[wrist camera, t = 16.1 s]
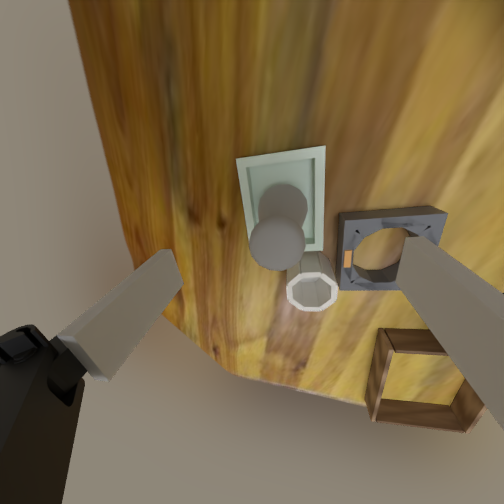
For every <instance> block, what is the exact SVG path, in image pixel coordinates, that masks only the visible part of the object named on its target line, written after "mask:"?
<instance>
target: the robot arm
mask: <svg viewBox="0 0 504 504" xmlns="http://www.w3.org/2000/svg"><path fill="white" fill-rule="evenodd" d="M395 283H396V284H397V285H398V287H399V288H400V289H401V291H402V292H403V293H404V295H405V296H406V298H407V299H408V300H409V302H410V303H411V304H412V306H413V307H414V309H415V310H416V311H417V313H418V314H419V315H420V317H421V318H422V320H423V321H424V322H425V324H426V325H427V326H428V328H429V329H430V330H431V332H432V333H433V335H434V336H435V337H436V339H437V340H438V341H439V343H440V344H441V346H442V347H443V348H444V350H445V351H446V352H447V354H448V355H449V356H450V358H451V359H452V361H453V362H454V363H455V365H456V366H457V367H458V369H459V370H460V372H461V373H462V374H463V376H464V377H465V378H466V380H467V381H468V383H469V384H470V385H471V387H472V388H473V389H474V391H475V392H476V393H477V395H478V396H479V398H480V399H481V400H482V402H483V403H484V404H485V406H486V407H487V409H488V410H489V411H490V413H491V414H492V415H493V417H494V418H495V420H496V421H497V422H498V424H499V425H500V426H501V427H502V429H503V430H504V293H501V292H500V291H498V290H497V289H496V288H494V287H493V286H492V285H490V284H489V283H487V282H486V281H485V280H483V279H482V278H481V277H479V276H478V275H476V274H475V273H474V272H472V271H471V270H470V269H468V268H467V267H465V266H464V265H463V264H461V263H460V262H458V261H457V260H456V259H454V258H453V257H452V256H450V255H449V254H447V253H446V252H445V251H443V250H442V249H441V248H439V247H438V246H436V245H435V244H434V243H432V242H431V241H429V240H428V239H427V238H425V237H424V236H421V237H406V239H405V243H404V247H403V251H402V256H401V260H400V264H399V268H398V273H397V277H396V281H395ZM183 284H184V283H183V280H182V277H181V275H180V272H179V269H178V266H177V264H176V261H175V258H174V256H173V253H172V250H171V249H161V250H159V251H158V252H157V253H156V254H154V255H153V256H152V257H151V258H150V259H148V260H147V261H146V262H145V263H144V264H142V265H141V266H140V267H139V268H138V269H136V270H135V271H134V272H133V273H131V274H130V275H129V276H128V277H127V278H125V279H124V280H123V281H122V282H121V283H119V284H118V285H117V286H116V287H115V288H113V289H112V290H111V291H110V292H108V293H107V294H106V295H105V296H104V297H102V298H101V299H100V300H99V301H98V302H97V303H95V304H94V305H93V306H92V307H90V308H89V309H88V310H87V311H85V312H84V313H83V314H82V315H81V316H79V317H78V318H77V319H76V320H74V321H73V322H72V323H71V324H70V325H69V326H67V327H66V328H65V329H64V330H62V331H61V332H60V333H59V334H58V335H56V336H55V337H54V338H53V339H51V340H50V341H48V340H47V339H46V337H45V336H44V335H43V334H42V333H41V332H40V331H39V330H38V329H37V327H36V326H34V325H25V326H21V327H18V328H16V329H14V330H12V331H10V332H8V333H6V334H4V335H2V336H0V504H62V499H63V494H64V489H65V484H66V479H67V474H68V468H69V463H70V458H71V453H72V448H73V443H74V438H75V432H76V428H77V423H78V417H79V412H80V407H81V402H82V397H83V392H84V387H85V381H84V380H83V378H82V377H83V376H84V374H85V373H86V372H87V371H88V373H89V374H90V375H91V376H92V377H93V378H94V379H95V380H100V381H110V380H111V379H112V377H113V376H114V375H115V374H116V372H117V371H118V370H119V368H120V367H121V366H122V364H123V363H124V362H125V360H126V359H127V358H128V357H129V355H130V354H131V353H132V351H133V350H134V348H135V347H136V346H137V345H138V343H139V342H140V340H141V339H142V338H143V337H144V335H145V334H146V333H147V331H148V330H149V329H150V327H151V326H152V325H153V324H154V322H155V321H156V320H157V318H158V317H159V315H160V314H161V313H162V312H163V310H164V309H165V308H166V307H167V305H168V304H169V303H170V301H171V300H172V299H173V297H174V296H175V295H176V293H177V292H178V291H179V289H180V288H181V287H182V285H183Z"/></svg>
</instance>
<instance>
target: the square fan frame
mask: <svg viewBox="0 0 504 504" xmlns="http://www.w3.org/2000/svg"><path fill="white" fill-rule="evenodd" d="M447 215H448V213H446V212H444V211H442V210H439V209H437V208H435V207H432V206H422V207H409V208H397V209H384V210H372V211H359V212H347V213H339V228H338V245H337V263H336V281H337V283H338V286H339V289H340V290H401V289H400V288H399V287H398V285H397V284H396V283H395V281H396V277H397V273H398V268H399V264H400V260H401V259H400V260H399V261H398V262H397V263H396V264H394V265H392V266H389V267H387V268H385V269H382V270H364V269H362V268H360V267H358V266H355V265H353V253H354V250H355V249H356V247H357V246H358V245H359V244H360V242H361V241H362V240H363V239H364V237H366V236H368V235H370V234H372V233H374V232H376V231H378V230H380V229H382V228H398V227H403V228H405V229H407V231H408V233H409V235H410V237H421V236H424V237H425V238H427V239H428V240H429V241H431V242H432V243H434V244H435V245H436V246H438V245H439V241H440V238H441V235H442V232H443V228H444V225H445V222H446V219H447Z"/></svg>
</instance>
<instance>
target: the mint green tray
mask: <svg viewBox="0 0 504 504" xmlns="http://www.w3.org/2000/svg"><path fill="white" fill-rule="evenodd" d="M236 163H237V169H238V175H239V182H240V188H241V195H242V201H243V207H244V214H245V220H246V226H247V233H248V239H249V241H250V236H251V232H252V230H253V229H254V227H255V226H256V225H257V224H258V223H259V220H258V206H259V202H260V198H261V197H262V195H263V194H264V193H265V192H266V190H267V189H269V188H271V187H273V186H276V185H278V184H290V185H292V186H294V187H296V188H298V189H300V190H301V192H302V193H303V195H304V196H305V197H306V199H307V205H308V212H307V215H306V218H305V221H304V224H303V226H302V229H303V231H304V236H305V243H306V247H305V250H304V251H323V229H324V187H325V146H317V147H310V148H304V149H297V150H290V151H284V152H277V153H270V154H263V155H257V156H250V157H243V158H238V159H236Z"/></svg>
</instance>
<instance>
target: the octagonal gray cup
mask: <svg viewBox="0 0 504 504" xmlns="http://www.w3.org/2000/svg"><path fill="white" fill-rule="evenodd" d="M286 288H287V300H288V301H289V302H290V303H292V304H293V305H294V306H296V307H297V308H298V309H300V310H302V309H303V311H320V309H321V310H322V311H323V310H324V309H326V308H327V307H329V306H330V305H331V304H333V303H334V302H336V300H337V290H338V285H337V282H336V279H335V276H334V273H333V270H332V267H331V264H330V261H329V259H328V258H327V257H326V256H325V255H323V254H322V253H321V252H320V251H304V253H303V255H302V258H301V260H300V261H299V262H298V263H297V264H296V265H294V266H293V267H292V268H289V269H287V281H286Z"/></svg>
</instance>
